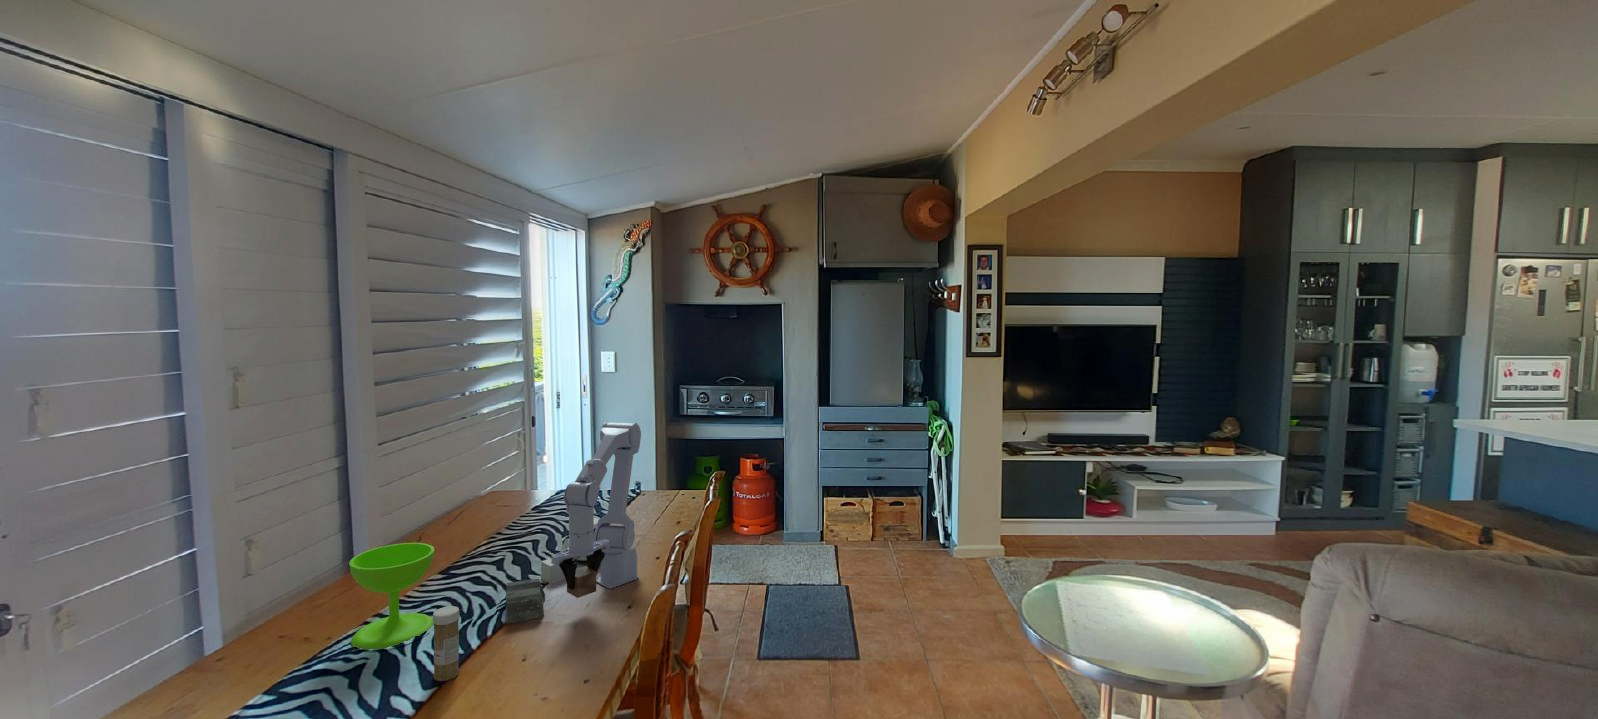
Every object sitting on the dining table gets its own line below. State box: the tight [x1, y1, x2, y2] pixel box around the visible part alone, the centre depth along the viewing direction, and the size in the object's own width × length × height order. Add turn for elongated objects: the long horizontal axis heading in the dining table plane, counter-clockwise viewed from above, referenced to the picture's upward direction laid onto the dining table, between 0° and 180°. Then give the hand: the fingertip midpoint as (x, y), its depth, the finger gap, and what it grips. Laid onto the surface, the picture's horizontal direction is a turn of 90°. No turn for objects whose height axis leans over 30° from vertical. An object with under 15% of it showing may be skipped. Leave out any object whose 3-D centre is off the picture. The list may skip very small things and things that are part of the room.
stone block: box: [505, 578, 546, 625], centre depth 149 cm, size 9×14×5 cm, turn 25°
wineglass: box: [348, 542, 435, 650], centre depth 135 cm, size 16×16×18 cm
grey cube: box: [540, 558, 566, 584], centre depth 167 cm, size 5×5×5 cm
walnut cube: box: [566, 565, 597, 599], centre depth 147 cm, size 5×5×5 cm
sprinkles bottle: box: [432, 605, 460, 682], centre depth 119 cm, size 5×5×13 cm
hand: (581, 584), depth 147 cm, fingers closed on walnut cube, 5 cm apart
